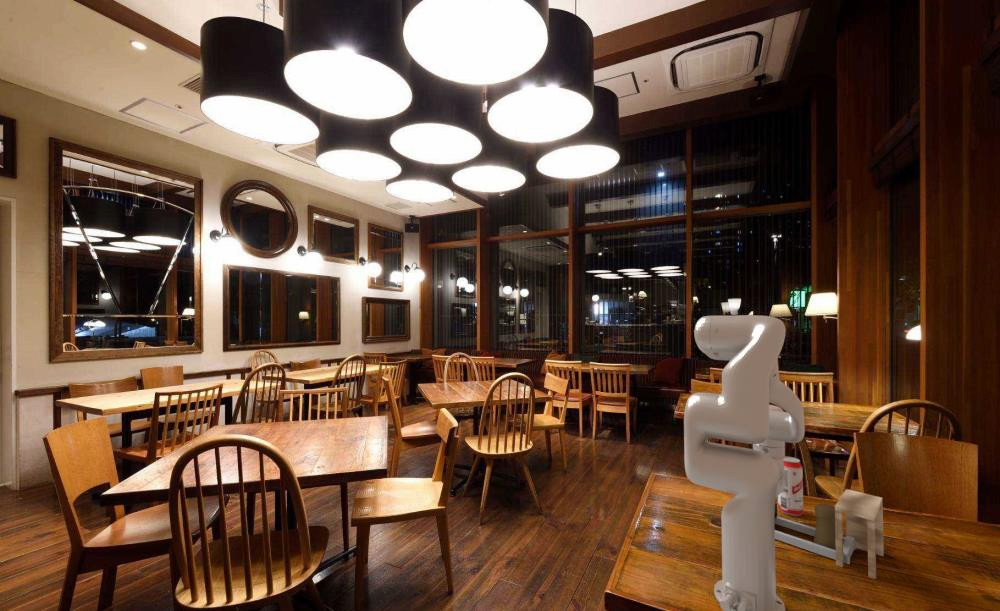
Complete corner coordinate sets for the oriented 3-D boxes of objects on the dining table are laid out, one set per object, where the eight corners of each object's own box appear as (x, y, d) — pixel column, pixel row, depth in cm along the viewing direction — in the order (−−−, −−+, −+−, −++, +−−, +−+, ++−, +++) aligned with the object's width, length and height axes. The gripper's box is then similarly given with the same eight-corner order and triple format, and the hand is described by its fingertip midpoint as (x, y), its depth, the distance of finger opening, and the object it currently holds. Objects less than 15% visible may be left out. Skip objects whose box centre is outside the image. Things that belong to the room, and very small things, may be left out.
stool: (883, 554, 103) (882, 497, 103) (875, 579, 93) (874, 516, 93) (847, 542, 108) (846, 488, 108) (836, 565, 98) (834, 505, 99)
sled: (856, 548, 105) (855, 524, 105) (848, 564, 98) (848, 539, 98) (763, 518, 121) (762, 497, 121) (751, 530, 114) (750, 508, 114)
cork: (849, 557, 102) (848, 512, 102) (823, 555, 102) (822, 510, 103) (832, 543, 108) (832, 501, 108) (807, 542, 108) (807, 499, 109)
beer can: (773, 510, 126) (772, 457, 127) (786, 506, 129) (785, 454, 129) (795, 519, 120) (794, 464, 121) (808, 514, 123) (807, 460, 123)
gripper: (775, 459, 108) (776, 531, 107) (792, 447, 117) (793, 513, 117) (743, 452, 113) (745, 520, 113) (762, 441, 123) (763, 503, 123)
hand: (769, 516), depth 115 cm, fingers closed
